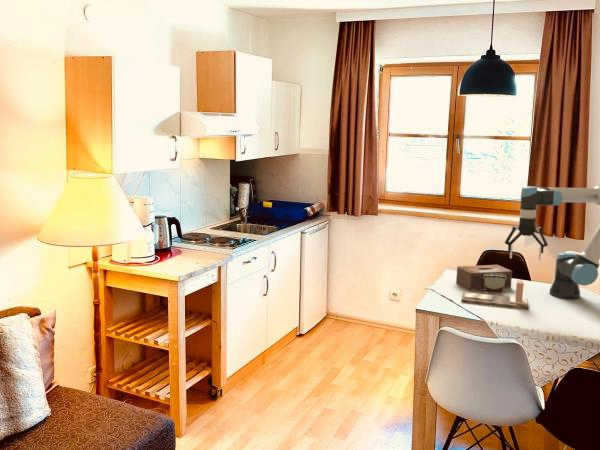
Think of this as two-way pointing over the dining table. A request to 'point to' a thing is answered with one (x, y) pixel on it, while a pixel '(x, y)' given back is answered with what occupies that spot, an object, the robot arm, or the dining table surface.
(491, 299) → the ticket board
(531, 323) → the dining table surface
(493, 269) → the tissue box cover
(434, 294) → the dining table surface
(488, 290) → the food container
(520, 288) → the stub
